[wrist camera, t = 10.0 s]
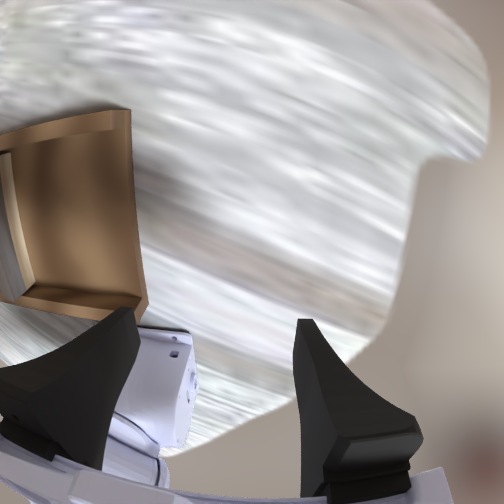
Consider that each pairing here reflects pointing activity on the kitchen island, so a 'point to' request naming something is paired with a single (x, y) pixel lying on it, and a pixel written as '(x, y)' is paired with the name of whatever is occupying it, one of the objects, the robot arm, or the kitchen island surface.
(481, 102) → the kitchen island surface
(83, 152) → the walnut track
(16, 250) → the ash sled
